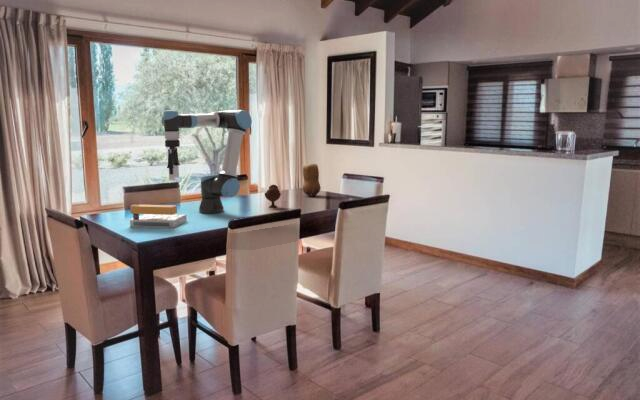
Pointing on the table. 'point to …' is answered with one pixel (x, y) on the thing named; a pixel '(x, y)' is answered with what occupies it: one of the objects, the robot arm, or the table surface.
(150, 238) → the table surface
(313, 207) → the table surface
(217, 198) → the robot arm
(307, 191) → the butternut squash
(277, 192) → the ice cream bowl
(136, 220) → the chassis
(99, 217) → the table surface
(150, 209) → the long orange block
